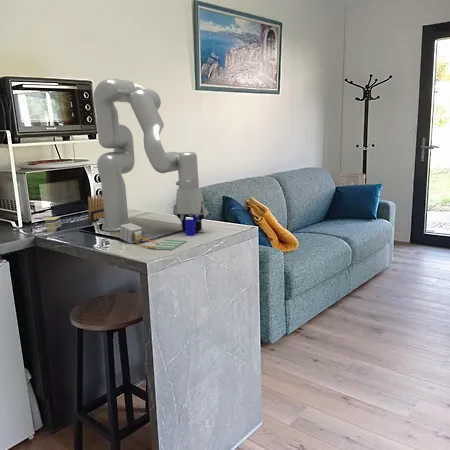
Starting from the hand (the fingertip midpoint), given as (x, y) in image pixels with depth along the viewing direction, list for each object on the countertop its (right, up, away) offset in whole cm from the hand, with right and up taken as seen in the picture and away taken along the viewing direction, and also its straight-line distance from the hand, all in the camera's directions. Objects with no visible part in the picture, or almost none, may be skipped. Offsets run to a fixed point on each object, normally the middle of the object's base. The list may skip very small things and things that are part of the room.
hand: (191, 230), depth 179 cm
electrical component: (-16, -5, -16) cm, 23 cm away
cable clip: (0, -1, 0) cm, 1 cm away
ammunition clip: (-45, +4, +31) cm, 55 cm away
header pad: (-7, -5, -18) cm, 20 cm away
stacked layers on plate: (-59, -1, +14) cm, 61 cm away
